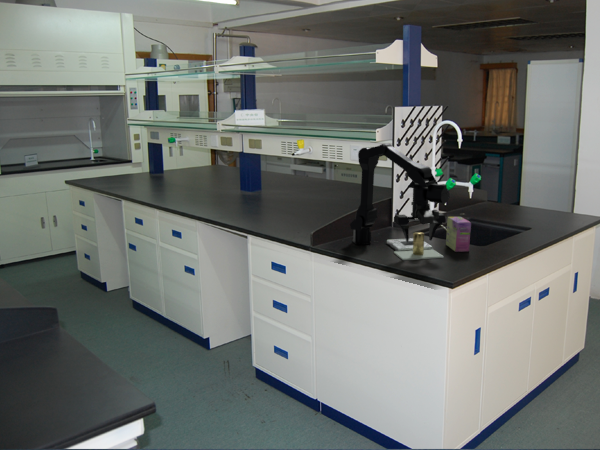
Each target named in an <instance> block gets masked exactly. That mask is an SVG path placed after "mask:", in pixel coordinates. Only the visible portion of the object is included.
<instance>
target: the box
mask: <svg viewBox="0 0 600 450" xmlns="http://www.w3.org/2000/svg"><path fill="white" fill-rule="evenodd" d="M446 223H447V224H446V239H445V244H446V246H447V247H449V248H450V249H451V250H452V251H454V252H456V253H457V252H458V253H462V252H465V253H466V252H469V251H470V241H471V239H470V238H471V229H472V228H471V227H472V222H470V221H469V220H468V219H466V218H464V217H462V216H447V219H446Z"/></svg>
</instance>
